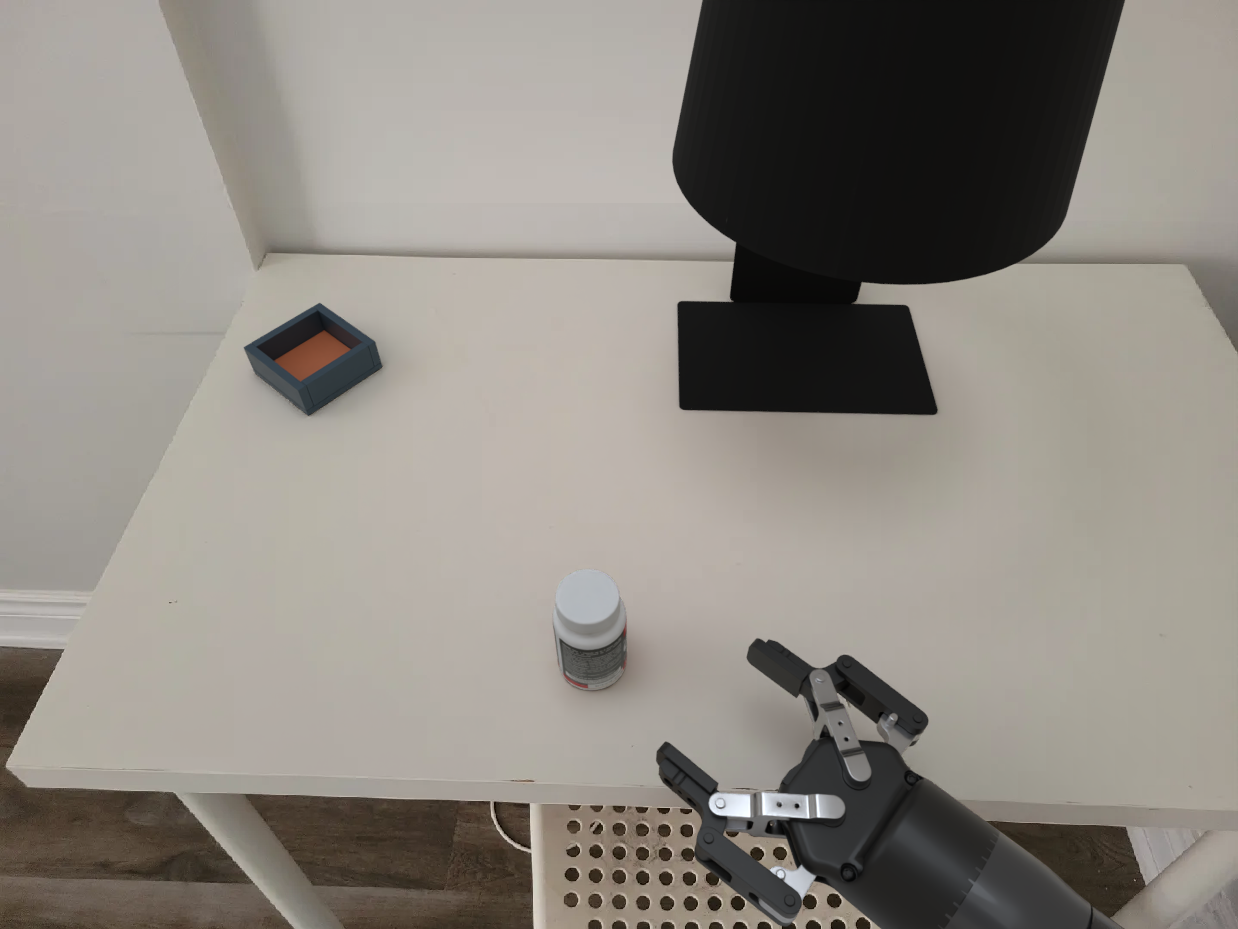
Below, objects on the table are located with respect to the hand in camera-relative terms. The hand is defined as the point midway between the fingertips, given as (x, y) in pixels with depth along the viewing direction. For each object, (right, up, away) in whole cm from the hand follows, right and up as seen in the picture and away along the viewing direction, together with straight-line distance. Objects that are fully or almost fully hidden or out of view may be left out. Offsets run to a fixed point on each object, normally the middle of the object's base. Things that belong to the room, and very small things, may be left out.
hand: (707, 698), depth 51 cm
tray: (-32, +22, +28) cm, 48 cm away
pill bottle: (-7, 0, +10) cm, 12 cm away
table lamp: (+11, +19, +26) cm, 34 cm away
